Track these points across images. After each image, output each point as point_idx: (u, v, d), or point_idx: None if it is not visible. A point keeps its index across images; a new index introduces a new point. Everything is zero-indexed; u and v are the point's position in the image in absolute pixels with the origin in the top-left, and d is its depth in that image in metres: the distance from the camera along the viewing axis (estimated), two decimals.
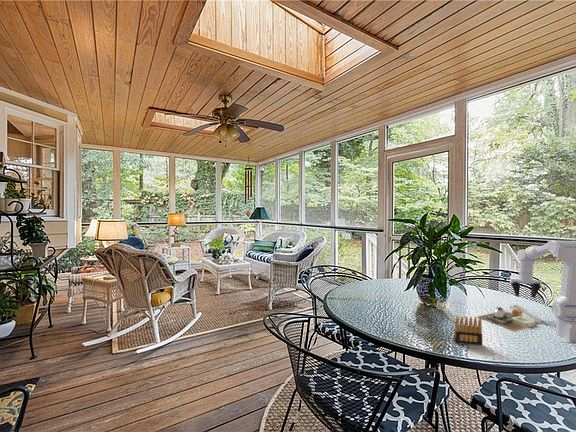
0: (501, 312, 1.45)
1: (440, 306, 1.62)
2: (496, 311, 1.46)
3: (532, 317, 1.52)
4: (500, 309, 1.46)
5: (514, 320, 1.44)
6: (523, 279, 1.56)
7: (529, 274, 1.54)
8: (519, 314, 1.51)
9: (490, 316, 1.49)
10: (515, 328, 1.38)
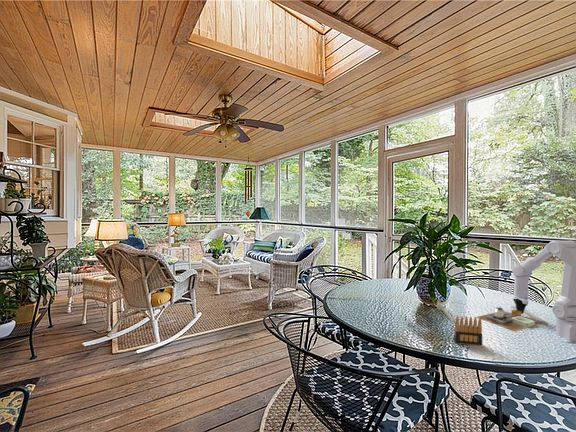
0: (501, 312, 1.45)
1: (440, 306, 1.62)
2: (496, 311, 1.46)
3: (533, 317, 1.51)
4: (500, 309, 1.46)
5: (514, 320, 1.44)
6: None
7: (514, 288, 1.54)
8: (518, 314, 1.51)
9: (490, 316, 1.49)
10: (515, 328, 1.38)
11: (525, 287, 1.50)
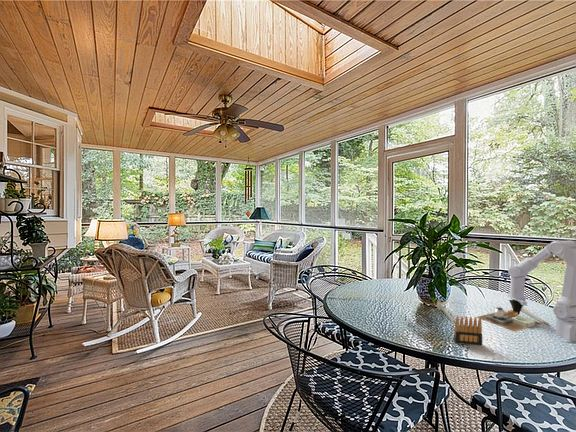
0: (501, 312, 1.45)
1: (440, 306, 1.62)
2: (496, 311, 1.46)
3: (534, 318, 1.51)
4: (500, 309, 1.46)
5: (514, 320, 1.44)
6: None
7: (511, 289, 1.52)
8: (515, 315, 1.50)
9: (490, 316, 1.49)
10: (515, 328, 1.38)
11: (522, 288, 1.49)
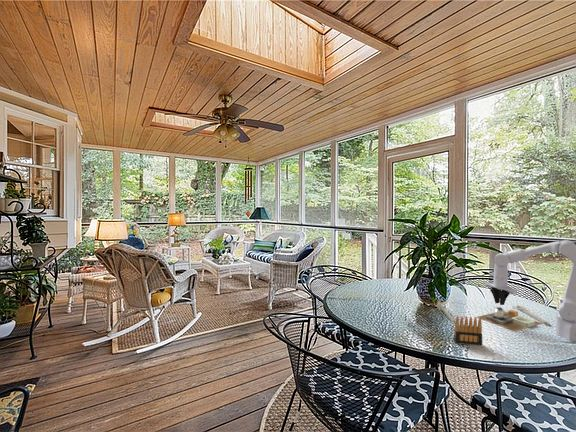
0: (501, 312, 1.45)
1: (441, 306, 1.61)
2: (496, 311, 1.46)
3: (535, 318, 1.51)
4: (500, 309, 1.46)
5: (514, 320, 1.44)
6: (493, 283, 1.47)
7: (497, 279, 1.45)
8: (515, 315, 1.50)
9: (490, 316, 1.49)
10: (515, 328, 1.38)
11: (507, 276, 1.44)
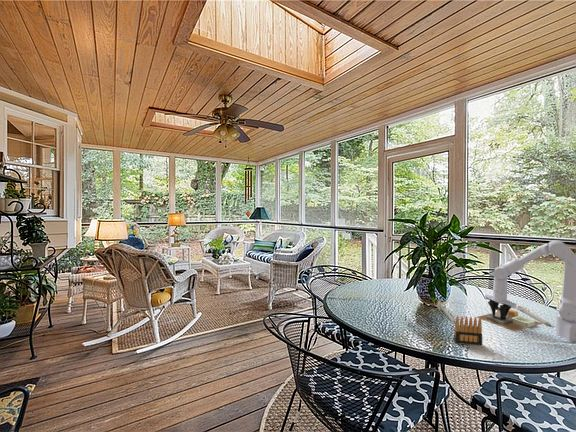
0: None
1: (441, 306, 1.61)
2: (496, 311, 1.46)
3: (536, 318, 1.50)
4: (500, 309, 1.46)
5: (514, 320, 1.44)
6: (493, 297, 1.48)
7: (496, 292, 1.45)
8: (515, 315, 1.50)
9: (490, 316, 1.49)
10: (515, 328, 1.38)
11: None
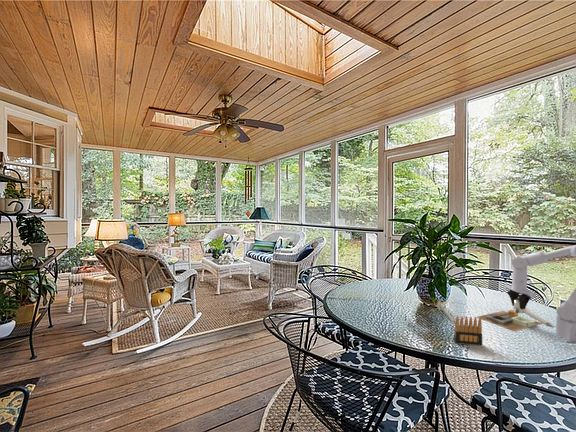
0: (519, 302, 1.42)
1: (441, 306, 1.61)
2: (514, 301, 1.44)
3: (537, 319, 1.50)
4: (519, 299, 1.43)
5: (514, 320, 1.44)
6: (512, 286, 1.45)
7: (515, 282, 1.43)
8: (515, 315, 1.50)
9: (490, 316, 1.49)
10: (515, 328, 1.38)
11: (526, 279, 1.41)
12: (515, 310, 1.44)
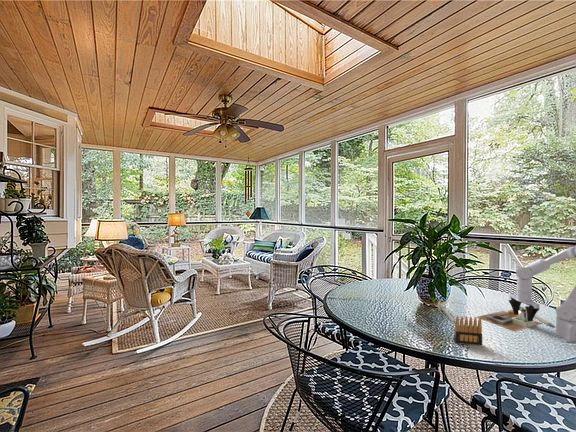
0: (523, 313, 1.42)
1: (441, 306, 1.61)
2: (519, 312, 1.44)
3: (539, 319, 1.49)
4: (523, 310, 1.43)
5: (514, 320, 1.44)
6: (516, 296, 1.45)
7: (519, 292, 1.43)
8: (515, 315, 1.50)
9: (490, 316, 1.49)
10: (515, 328, 1.38)
11: (531, 289, 1.41)
12: None
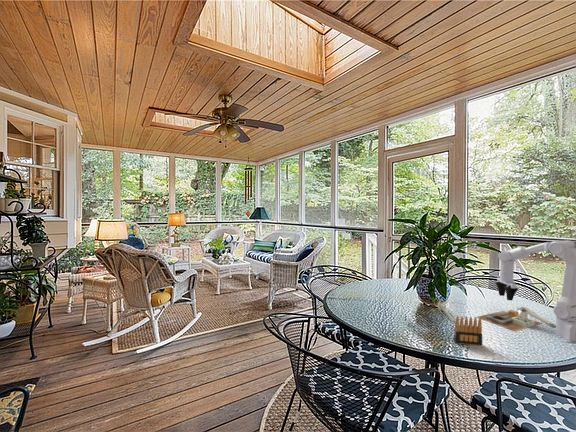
0: (523, 313, 1.42)
1: (441, 306, 1.61)
2: (519, 312, 1.44)
3: (541, 319, 1.49)
4: (523, 310, 1.43)
5: (514, 320, 1.44)
6: None
7: (501, 273, 1.55)
8: (515, 315, 1.50)
9: (490, 316, 1.49)
10: (515, 328, 1.38)
11: (511, 272, 1.52)
12: None
